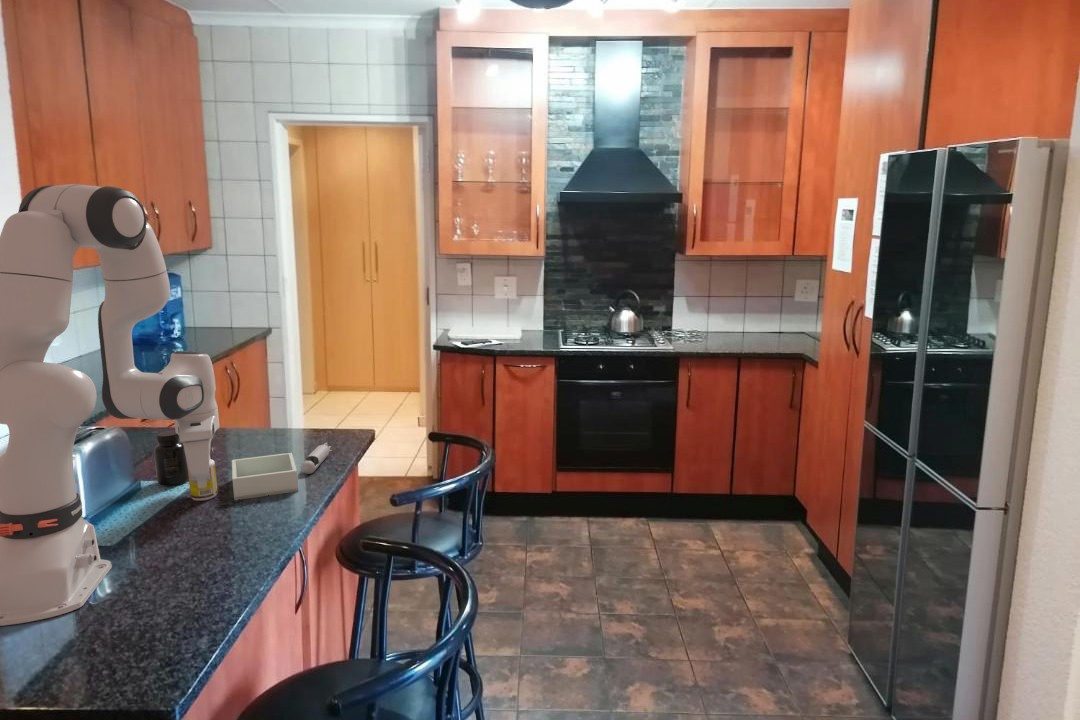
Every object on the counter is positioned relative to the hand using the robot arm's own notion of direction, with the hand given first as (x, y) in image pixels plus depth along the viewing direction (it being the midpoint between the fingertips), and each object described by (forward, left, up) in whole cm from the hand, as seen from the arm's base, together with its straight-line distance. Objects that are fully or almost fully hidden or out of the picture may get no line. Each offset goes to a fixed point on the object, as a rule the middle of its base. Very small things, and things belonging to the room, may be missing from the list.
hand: (202, 481), depth 165 cm
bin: (+2, -13, -4) cm, 14 cm away
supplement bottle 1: (+13, +7, -4) cm, 15 cm away
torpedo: (+13, -26, -4) cm, 29 cm away
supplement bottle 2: (0, 0, -4) cm, 4 cm away
